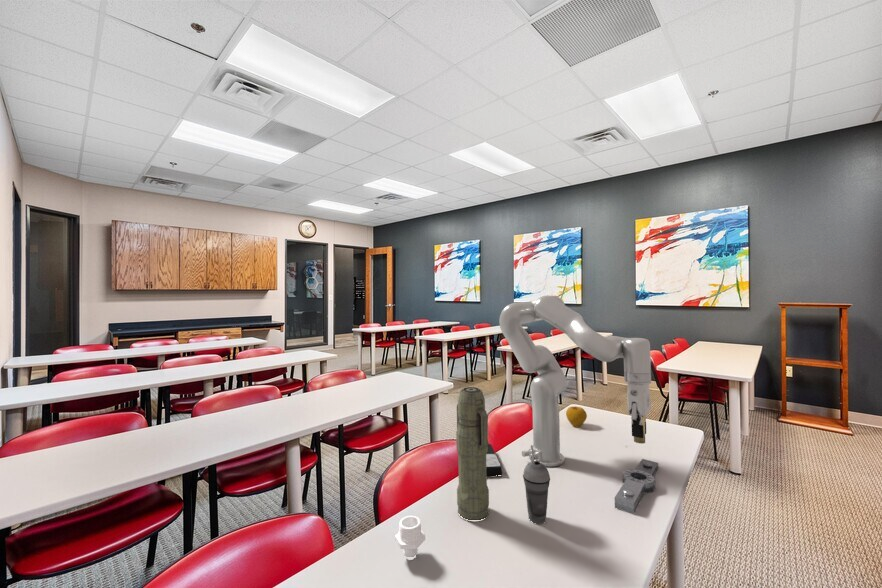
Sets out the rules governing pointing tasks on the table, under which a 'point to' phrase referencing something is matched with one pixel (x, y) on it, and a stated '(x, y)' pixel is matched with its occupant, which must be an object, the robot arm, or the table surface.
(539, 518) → the mini scuba tank
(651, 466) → the lower chain end
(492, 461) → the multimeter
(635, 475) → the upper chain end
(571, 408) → the apple
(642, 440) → the brass pin
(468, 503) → the thermos
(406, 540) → the pipe fitting
